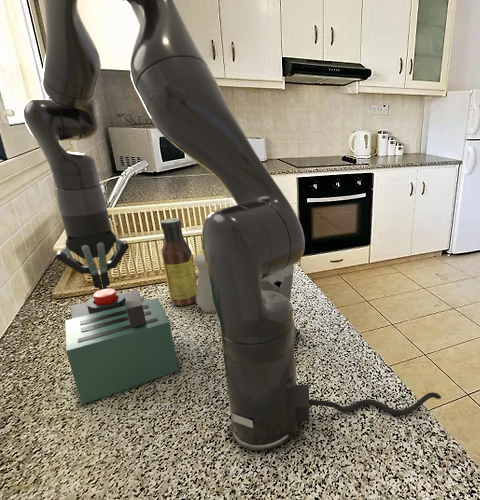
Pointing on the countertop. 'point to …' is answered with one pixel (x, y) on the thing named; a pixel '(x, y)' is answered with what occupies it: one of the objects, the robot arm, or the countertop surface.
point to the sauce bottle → (178, 264)
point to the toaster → (118, 350)
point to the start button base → (92, 308)
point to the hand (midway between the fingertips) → (103, 288)
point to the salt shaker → (203, 286)
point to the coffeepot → (280, 284)
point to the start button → (105, 296)
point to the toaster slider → (135, 313)
